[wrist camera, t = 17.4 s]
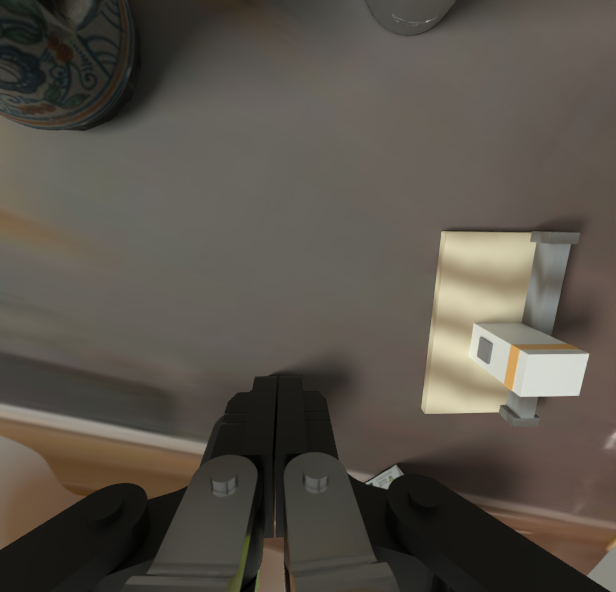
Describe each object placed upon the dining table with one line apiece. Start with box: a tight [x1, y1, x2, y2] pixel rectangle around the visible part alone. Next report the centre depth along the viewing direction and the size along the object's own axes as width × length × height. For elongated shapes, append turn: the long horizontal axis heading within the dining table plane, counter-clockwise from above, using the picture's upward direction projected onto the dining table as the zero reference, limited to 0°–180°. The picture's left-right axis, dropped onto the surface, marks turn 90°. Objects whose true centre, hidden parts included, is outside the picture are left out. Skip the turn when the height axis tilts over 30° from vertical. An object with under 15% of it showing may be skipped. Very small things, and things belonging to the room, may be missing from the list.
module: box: [469, 323, 589, 397], centre depth 35 cm, size 4×6×9 cm
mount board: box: [421, 231, 580, 427], centre depth 38 cm, size 23×14×4 cm, turn 179°
